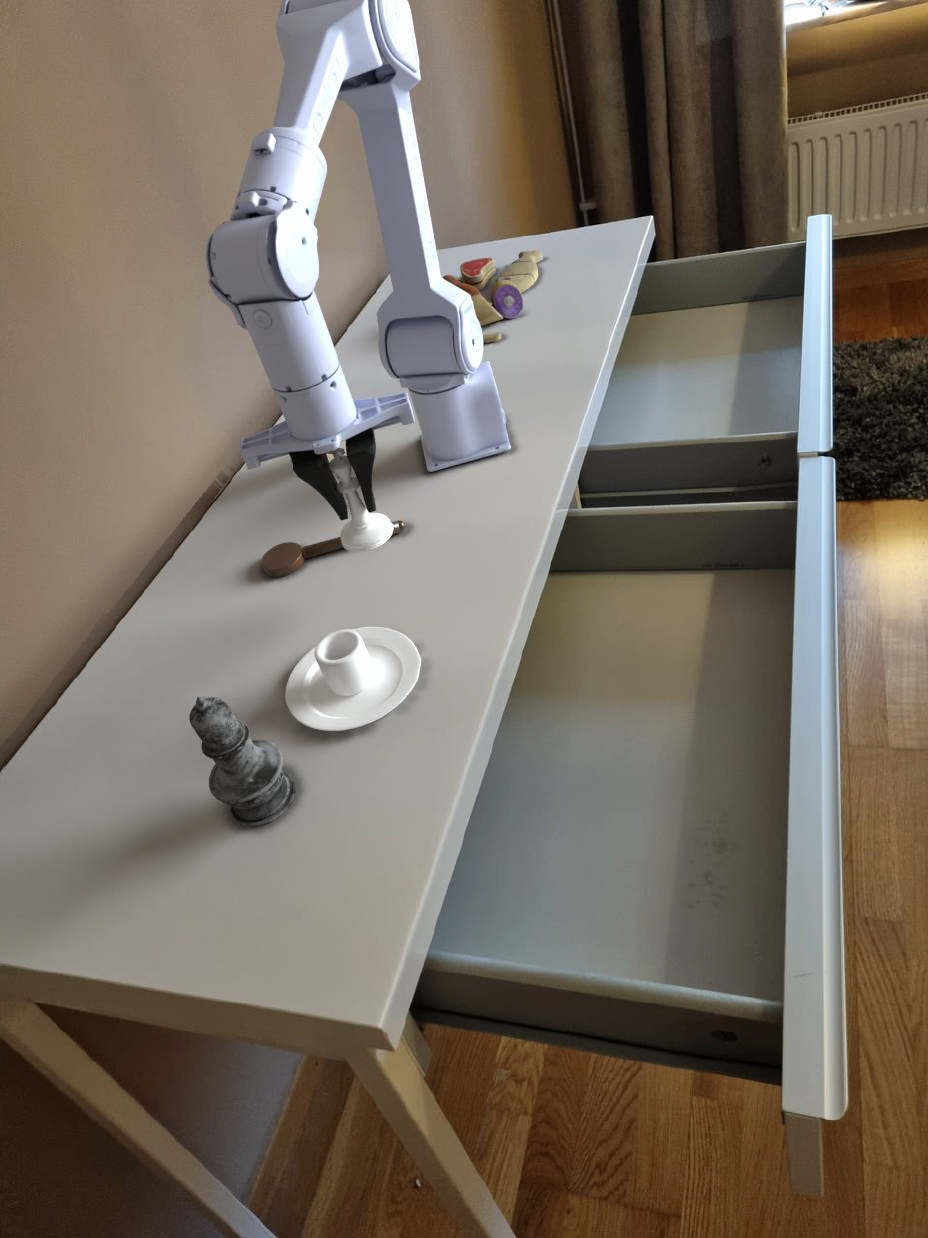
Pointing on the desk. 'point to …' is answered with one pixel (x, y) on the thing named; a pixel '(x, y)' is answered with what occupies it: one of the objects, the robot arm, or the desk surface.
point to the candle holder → (352, 678)
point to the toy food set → (498, 287)
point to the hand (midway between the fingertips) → (357, 509)
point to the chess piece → (358, 511)
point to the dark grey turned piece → (241, 765)
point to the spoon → (303, 553)
